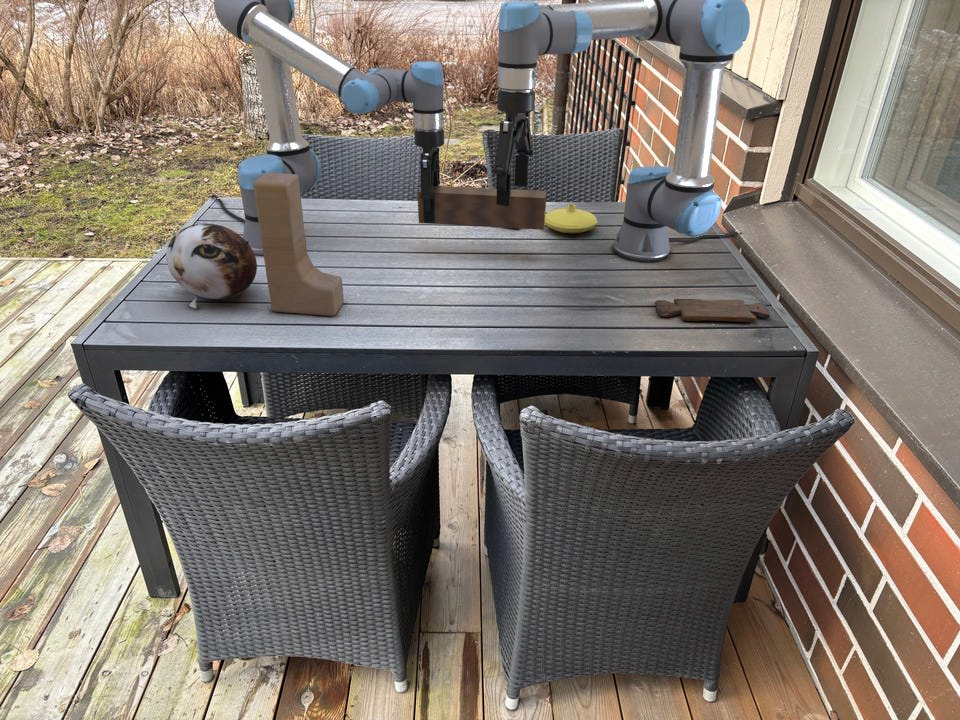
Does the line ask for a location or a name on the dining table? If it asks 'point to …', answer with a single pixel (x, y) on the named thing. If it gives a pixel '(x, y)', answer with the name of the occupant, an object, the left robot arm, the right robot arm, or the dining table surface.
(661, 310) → the wooden paddle board
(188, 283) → the cat face balloon
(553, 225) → the yellow round domed disc
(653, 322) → the dining table surface
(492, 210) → the bar
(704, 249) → the dining table surface
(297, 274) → the decorative block
